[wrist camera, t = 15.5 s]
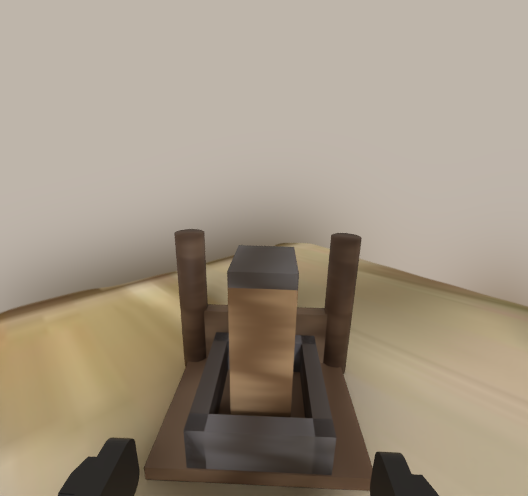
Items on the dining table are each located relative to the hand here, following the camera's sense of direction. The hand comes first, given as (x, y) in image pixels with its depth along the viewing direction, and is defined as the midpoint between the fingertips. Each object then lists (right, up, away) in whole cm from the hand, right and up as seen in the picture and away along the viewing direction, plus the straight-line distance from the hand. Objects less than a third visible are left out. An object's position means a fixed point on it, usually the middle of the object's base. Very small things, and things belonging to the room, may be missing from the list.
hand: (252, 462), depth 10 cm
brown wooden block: (0, -5, +13) cm, 14 cm away
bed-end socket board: (0, -6, +14) cm, 15 cm away
